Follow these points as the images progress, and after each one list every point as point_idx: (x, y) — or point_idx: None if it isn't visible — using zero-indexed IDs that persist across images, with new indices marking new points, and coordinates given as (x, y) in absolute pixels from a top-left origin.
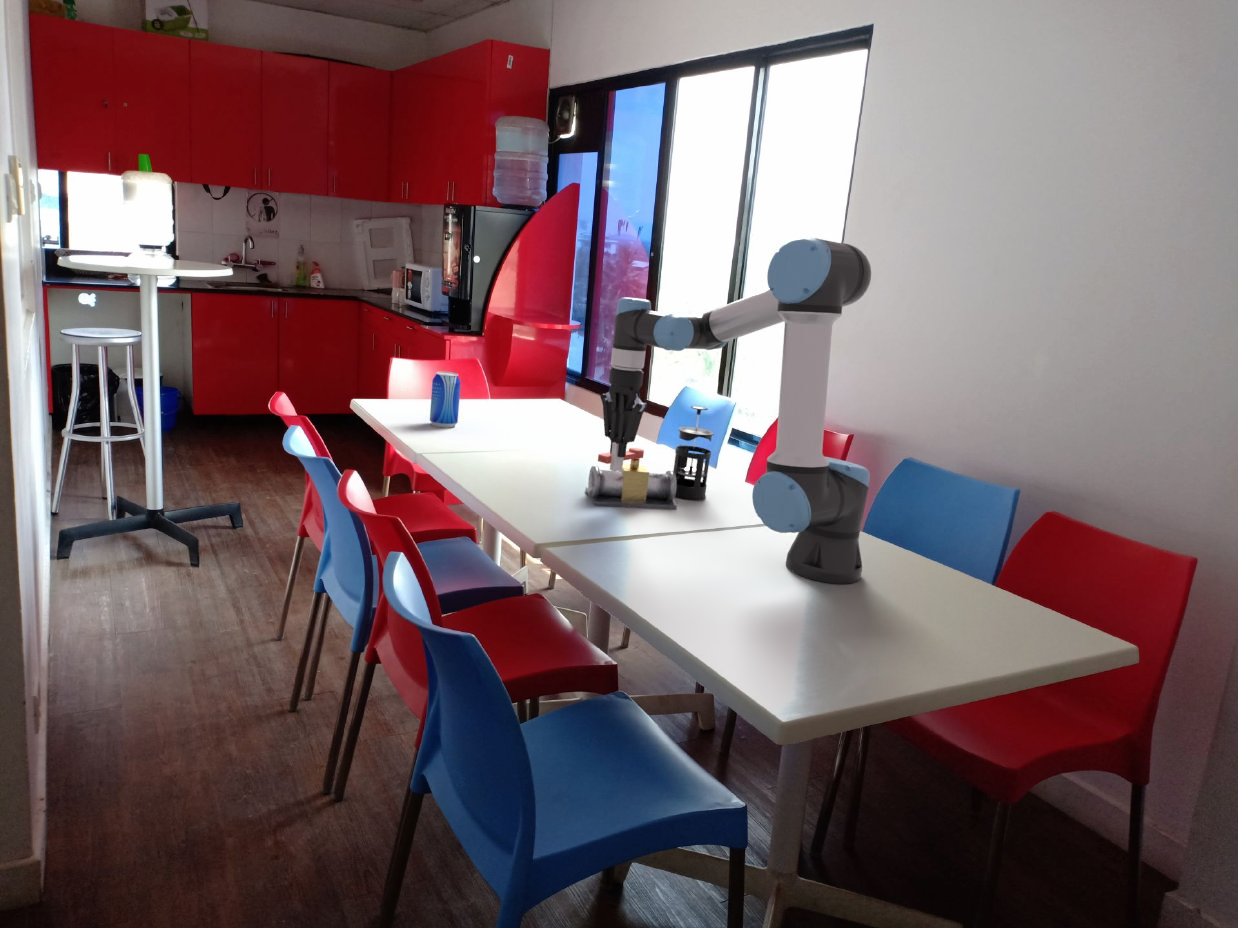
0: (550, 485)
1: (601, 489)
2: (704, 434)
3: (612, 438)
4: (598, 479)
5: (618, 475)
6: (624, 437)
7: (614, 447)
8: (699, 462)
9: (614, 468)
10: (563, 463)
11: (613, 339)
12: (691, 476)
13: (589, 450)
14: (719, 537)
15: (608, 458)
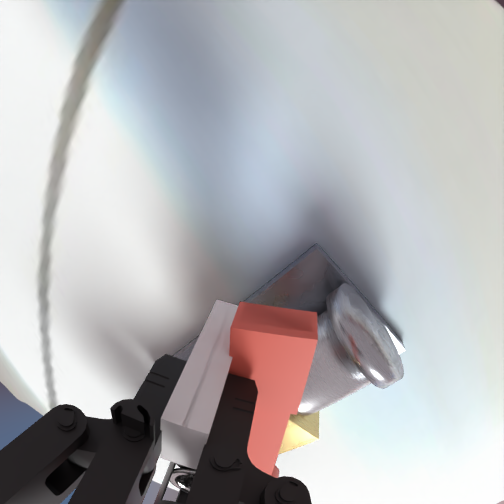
0: (489, 313)
1: (325, 311)
2: None
3: (211, 461)
4: (337, 319)
5: None
6: (69, 440)
7: (193, 398)
8: (160, 494)
9: (212, 309)
10: (483, 437)
11: None
12: (181, 469)
13: (451, 490)
14: (16, 254)
15: (232, 325)
